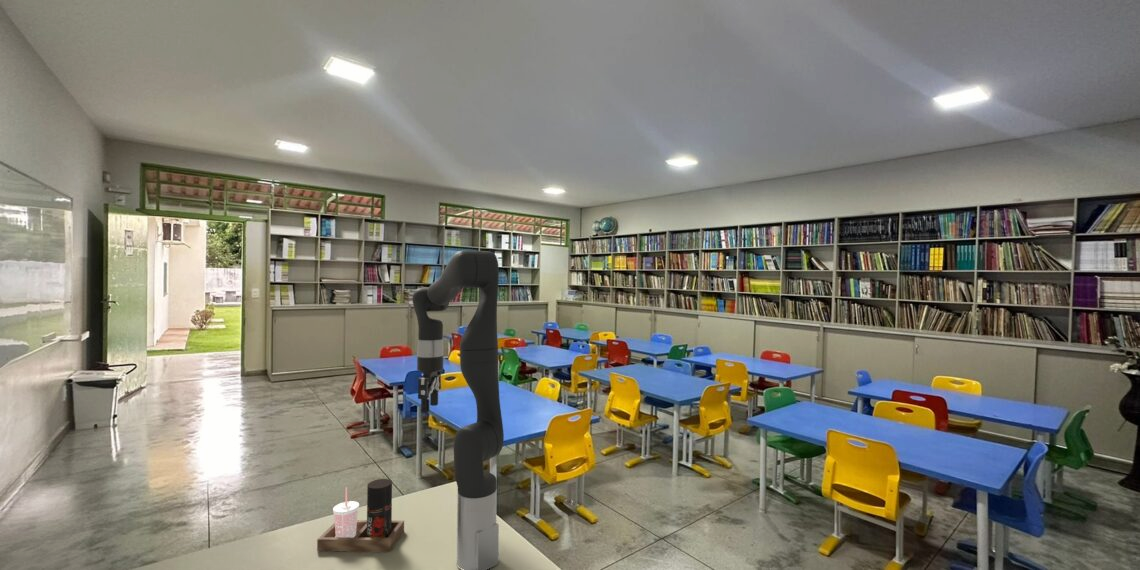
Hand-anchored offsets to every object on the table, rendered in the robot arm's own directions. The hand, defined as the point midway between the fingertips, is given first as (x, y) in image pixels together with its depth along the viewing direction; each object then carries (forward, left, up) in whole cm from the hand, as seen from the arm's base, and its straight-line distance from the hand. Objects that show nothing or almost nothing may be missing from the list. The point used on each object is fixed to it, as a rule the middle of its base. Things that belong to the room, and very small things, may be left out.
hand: (429, 408), depth 135 cm
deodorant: (-6, +18, -30) cm, 36 cm away
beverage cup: (+1, +24, -30) cm, 38 cm away
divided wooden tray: (-3, +21, -30) cm, 37 cm away
